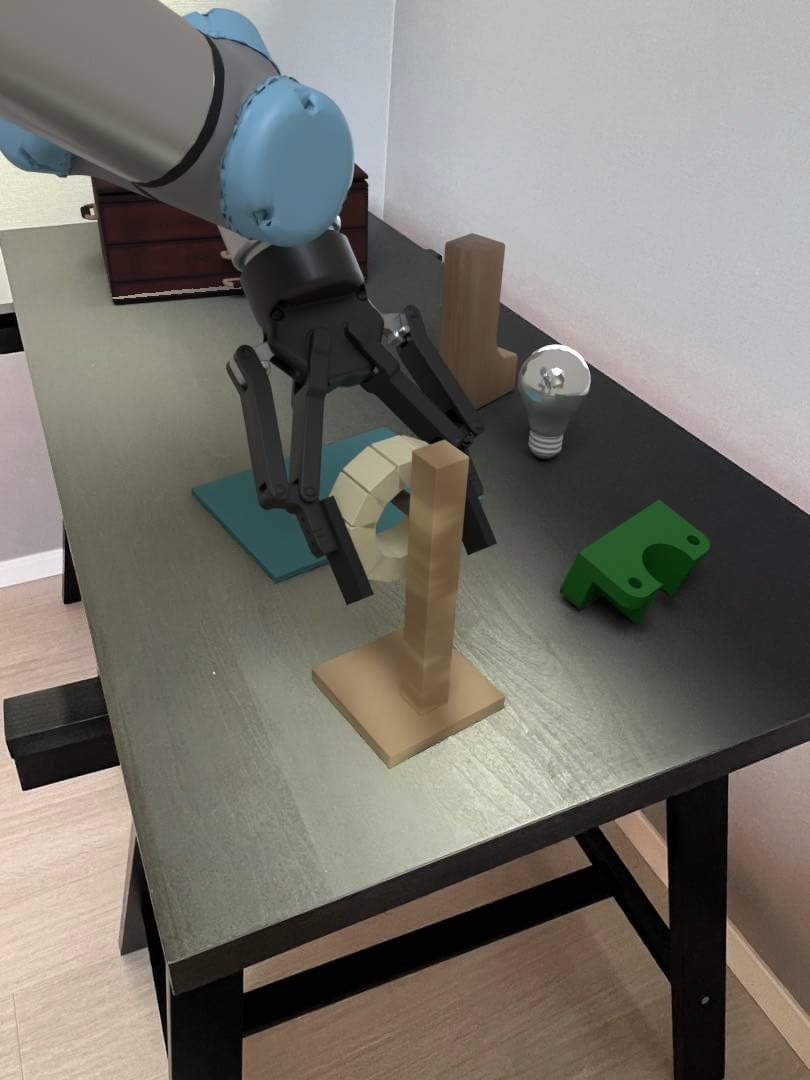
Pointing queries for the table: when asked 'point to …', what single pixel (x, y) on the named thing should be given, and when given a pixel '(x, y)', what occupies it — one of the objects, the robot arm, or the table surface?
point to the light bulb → (552, 395)
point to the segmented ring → (377, 504)
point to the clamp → (636, 561)
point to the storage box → (186, 243)
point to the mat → (277, 531)
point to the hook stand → (417, 630)
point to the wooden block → (475, 319)
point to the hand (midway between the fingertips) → (423, 573)
